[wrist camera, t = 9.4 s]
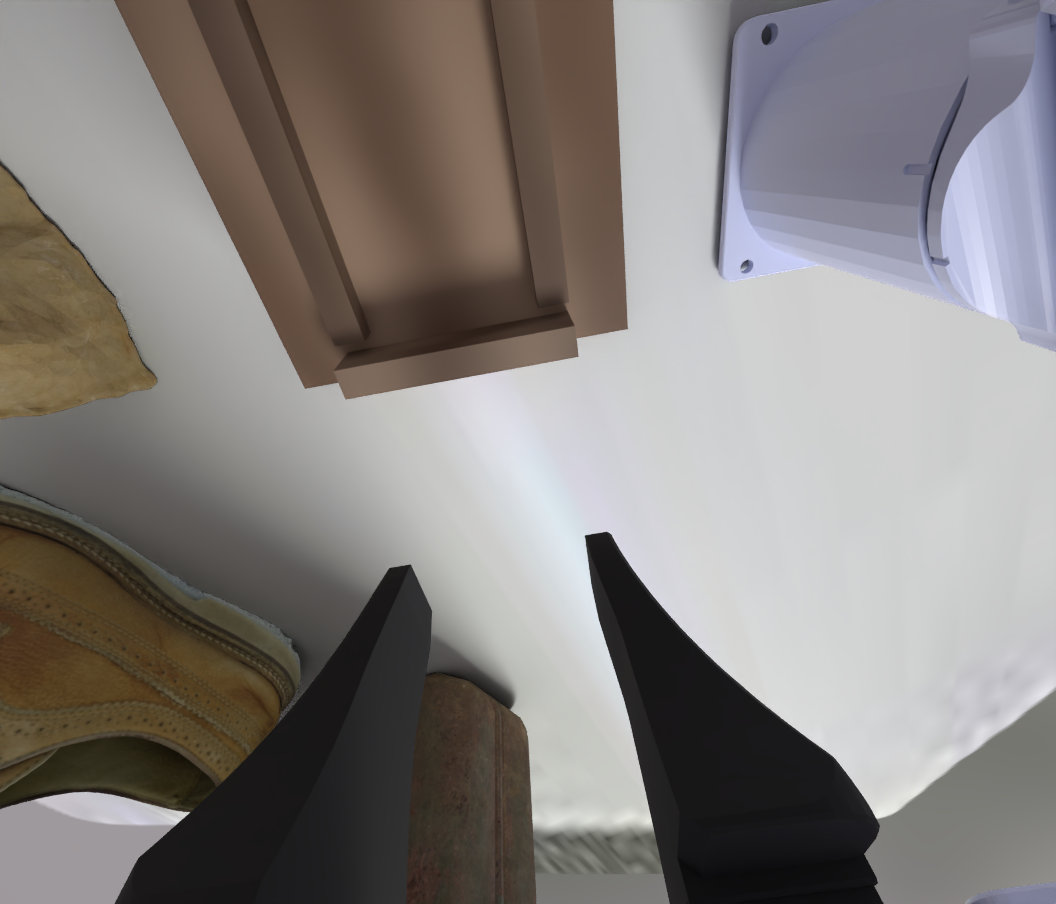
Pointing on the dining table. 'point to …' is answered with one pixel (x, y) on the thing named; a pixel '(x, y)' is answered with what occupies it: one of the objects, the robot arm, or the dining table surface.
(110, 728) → the oxford shoe
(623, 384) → the dining table surface
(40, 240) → the rock
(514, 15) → the slider track
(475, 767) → the container
